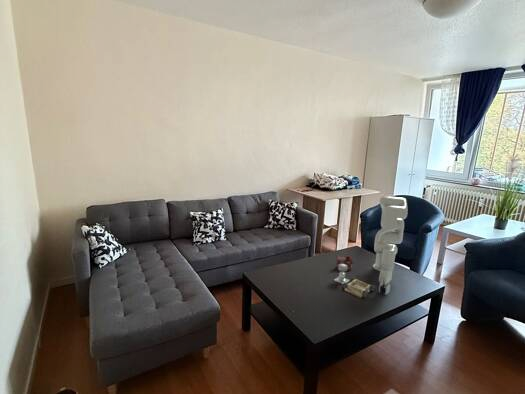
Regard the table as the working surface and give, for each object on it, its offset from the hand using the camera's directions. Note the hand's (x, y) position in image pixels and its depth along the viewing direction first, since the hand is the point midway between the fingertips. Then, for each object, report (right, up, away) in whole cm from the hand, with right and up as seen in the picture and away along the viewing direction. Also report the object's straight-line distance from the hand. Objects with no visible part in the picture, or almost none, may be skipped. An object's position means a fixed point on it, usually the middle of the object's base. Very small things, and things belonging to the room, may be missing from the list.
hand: (384, 291), depth 184 cm
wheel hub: (-24, +11, +12) cm, 29 cm away
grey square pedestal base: (-24, +3, +14) cm, 28 cm away
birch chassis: (-16, 0, +2) cm, 16 cm away
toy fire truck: (-17, +6, +33) cm, 38 cm away
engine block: (0, -1, 0) cm, 1 cm away
